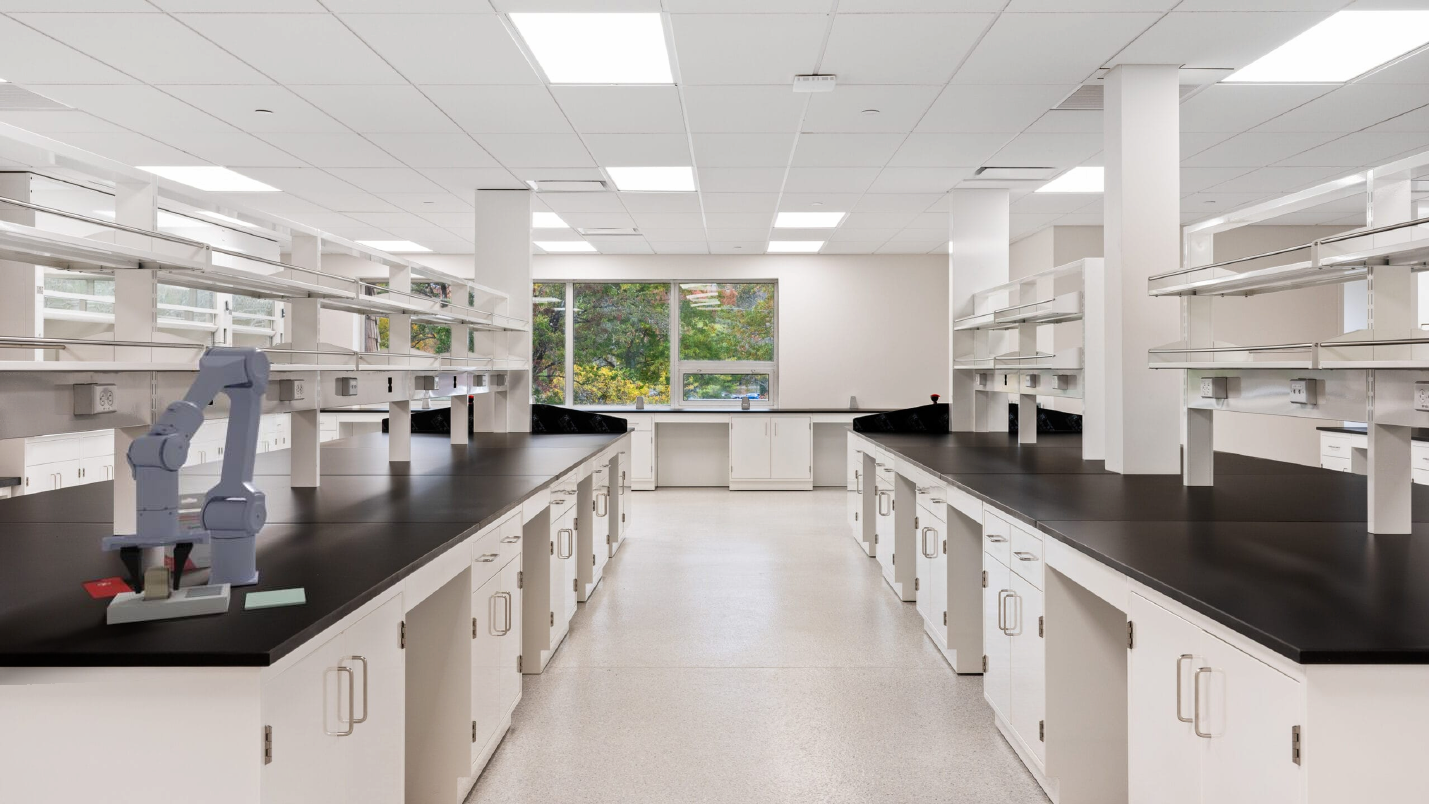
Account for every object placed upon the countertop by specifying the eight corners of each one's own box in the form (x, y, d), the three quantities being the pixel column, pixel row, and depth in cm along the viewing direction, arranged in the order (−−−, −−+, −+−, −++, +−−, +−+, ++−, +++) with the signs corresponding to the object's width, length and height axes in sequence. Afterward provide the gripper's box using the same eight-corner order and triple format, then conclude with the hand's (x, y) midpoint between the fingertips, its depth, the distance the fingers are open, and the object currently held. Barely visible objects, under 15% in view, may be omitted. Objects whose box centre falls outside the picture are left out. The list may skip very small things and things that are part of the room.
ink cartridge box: (170, 572, 160) (170, 497, 160) (163, 568, 163) (163, 495, 163) (219, 565, 166) (219, 493, 166) (211, 561, 170) (211, 491, 169)
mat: (246, 595, 143) (246, 593, 143) (303, 590, 148) (303, 587, 148) (244, 609, 135) (244, 607, 135) (305, 603, 139) (305, 601, 139)
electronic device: (134, 595, 144) (119, 579, 155) (134, 591, 144) (119, 576, 155) (93, 601, 140) (81, 584, 151) (93, 597, 140) (80, 581, 151)
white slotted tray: (118, 608, 135) (118, 592, 135) (230, 597, 142) (230, 582, 142) (107, 624, 126) (107, 607, 126) (227, 611, 133) (227, 596, 133)
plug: (148, 609, 134) (148, 567, 134) (170, 607, 136) (170, 565, 136) (144, 616, 130) (144, 573, 130) (167, 614, 132) (167, 571, 132)
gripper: (97, 514, 126) (98, 601, 126) (207, 508, 133) (207, 591, 133) (106, 508, 132) (106, 591, 132) (211, 503, 139) (211, 582, 139)
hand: (157, 590), depth 133 cm, fingers open, 4 cm apart
